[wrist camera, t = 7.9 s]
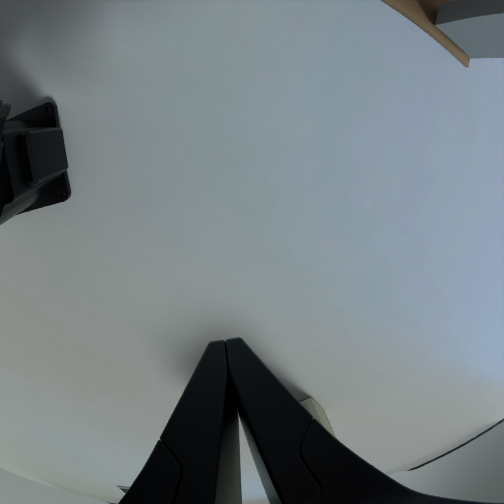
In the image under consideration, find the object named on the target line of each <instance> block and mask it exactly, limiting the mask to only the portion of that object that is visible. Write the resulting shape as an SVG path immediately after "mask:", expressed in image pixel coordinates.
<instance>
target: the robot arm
mask: <svg viewBox="0 0 504 504" xmlns="http://www.w3.org/2000/svg"><path fill="white" fill-rule="evenodd" d="M2 101H3V100H0V225H1V224H3V223H4V222H6V221H7V220H9V219H10V218H12V217H13V216H15V215H18V214H21V213H24V212H28V211H31V210H34V209H38V208H42V207H45V206H49V205H53V204H56V203H60V202H64V201H66V200H67V199H69V198H70V196H71V189H70V184H69V179H68V174H67V168H68V162H67V157H66V151H65V145H64V138H63V132H62V129H61V128H60V127H59V119H58V110H57V105H56V104H55V103H53V102H48V103H45V104H43V105H40V106H38V107H35V108H33V109H31V110H28V111H26V112H24V113H22V114H20V115H17V116H15V117H13V118H11V119H9V120H7V121H6V116H8V115H9V111H10V107H11V105H10V104H4V103H2ZM49 107H51V112H50V113H48V108H49ZM62 190H64V191H65V196H63V195H62V193H61V191H62ZM237 409H238V410H237ZM238 413H239V417H240V421H241V424H242V427H243V430H244V433H245V436H246V439H247V442H248V445H249V448H250V451H251V454H252V456H253V459H254V462H255V465H256V468H257V470H258V473H259V476H260V479H261V481H262V484H263V487H264V489H265V492H266V495H267V497H268V500H269V502H270V504H504V503H487V502H476V501H465V500H458V499H450V498H444V497H438V496H433V495H428V494H423V493H420V492H417V491H414V490H412V489H409V488H407V487H405V486H403V485H402V484H400V483H398V482H397V481H395V480H393V479H392V478H390V477H389V476H387V475H386V474H384V473H383V472H381V471H380V470H378V469H377V468H375V467H374V466H372V465H371V464H369V463H368V462H366V461H365V460H364V459H362V458H361V457H359V456H358V455H357V454H355V453H354V452H353V451H351V450H350V449H349V448H347V447H346V446H345V445H344V444H342V443H341V442H340V441H339V440H338V439H336V438H335V437H334V436H333V435H332V434H331V433H330V432H329V431H328V430H327V429H326V428H325V427H324V426H323V425H322V424H321V423H320V422H319V421H318V420H317V419H315V418H314V419H313V415H312V414H311V413H310V412H309V411H308V410H307V409H306V408H305V407H304V406H303V405H302V404H301V403H300V402H299V401H298V400H297V399H296V398H295V397H294V396H293V395H292V393H291V392H290V391H289V390H288V389H287V388H286V387H285V386H284V385H283V384H282V383H281V382H280V381H279V380H278V378H277V377H276V376H275V375H274V374H273V373H272V372H271V371H270V370H269V369H268V367H267V366H266V365H265V364H264V363H263V362H262V361H261V360H260V359H259V357H258V356H257V355H256V354H255V353H254V352H253V351H252V349H251V348H250V347H249V346H248V345H247V344H246V343H245V341H244V340H243V339H242V338H240V337H238V338H232V339H227V340H226V343H225V341H224V340H218V341H211V342H210V343H209V344H208V346H207V348H206V349H205V351H204V353H203V355H202V357H201V359H200V361H199V363H198V365H197V367H196V369H195V371H194V373H193V375H192V377H191V378H190V380H189V382H188V384H187V386H186V388H185V390H184V392H183V394H182V396H181V398H180V400H179V402H178V404H177V405H176V407H175V409H174V411H173V413H172V415H171V417H170V419H169V421H168V423H167V425H166V427H165V429H164V430H163V432H162V434H161V436H160V440H158V442H157V444H156V445H155V447H154V449H153V451H152V453H151V455H150V457H149V458H148V460H147V462H146V464H145V465H144V467H143V469H142V470H141V472H140V473H139V475H138V476H137V478H136V479H135V481H134V482H133V484H132V485H131V487H130V488H129V489H128V491H127V492H126V494H125V495H124V496H123V498H122V499H121V500H120V502H119V503H118V504H242V493H241V470H240V444H239V419H238Z"/></svg>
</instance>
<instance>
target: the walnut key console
mask: <svg viewBox="0 0 504 504" xmlns="http://www.w3.org/2000/svg"><path fill="white" fill-rule="evenodd" d="M381 1H383V2H384V3H386V4H387V5H389V6H390V7H392V8H393V9H395V10H396V11H398V12H399V13H401V14H402V15H404V16H405V17H406V18H408V19H409V20H411V21H412V22H413V23H415V24H416V25H417V26H419V27H420V28H421V29H423V30H424V31H425V32H426V33H428V34H429V35H430V36H431V37H433V38H434V39H435V40H436V41H437V42H439V43H440V44H441V45H442V46H443V47H444V48H446V49H447V50H448V51H449V52H450V53H451V54H452V55H453V56H454V57H456V58H457V59H458V60H459V61H460V62H461V63H462V64H463V65H464V66H465V67H468V66H469V61H470V57H469V56H468V55H467V54H466V53H465V52H464V51H463V50H462V49H461V48H460V47H459V46H457V45H456V44H455V43H454V42H453V41H452V40H451V39H450V38H449V37H448V36H446V35H445V34H444V33H443V32H442V31H441V30H440V29H438V28H437V27H436V26H435V22H436V17H437V13H438V8H439V5H440V4H444V3H447V2H451V1H455V0H381Z"/></svg>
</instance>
